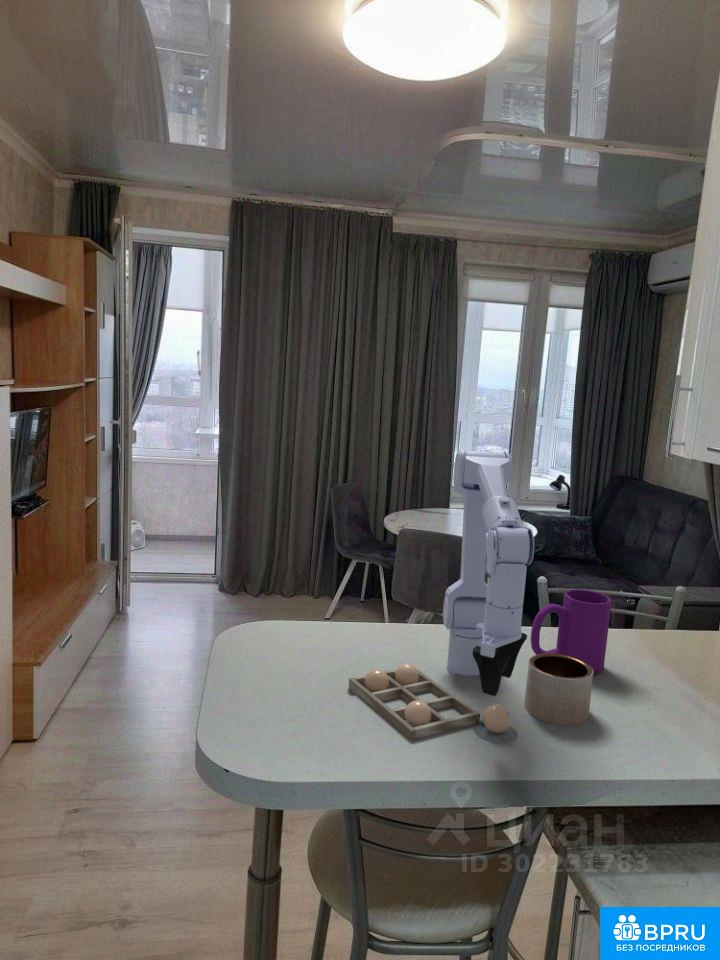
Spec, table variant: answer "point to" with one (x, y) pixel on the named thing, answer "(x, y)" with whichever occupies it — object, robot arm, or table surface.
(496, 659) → the robot arm
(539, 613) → the mug
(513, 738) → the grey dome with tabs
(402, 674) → the egg
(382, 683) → the egg
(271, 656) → the table surface
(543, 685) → the planter
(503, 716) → the egg loose
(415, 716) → the egg
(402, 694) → the carton
